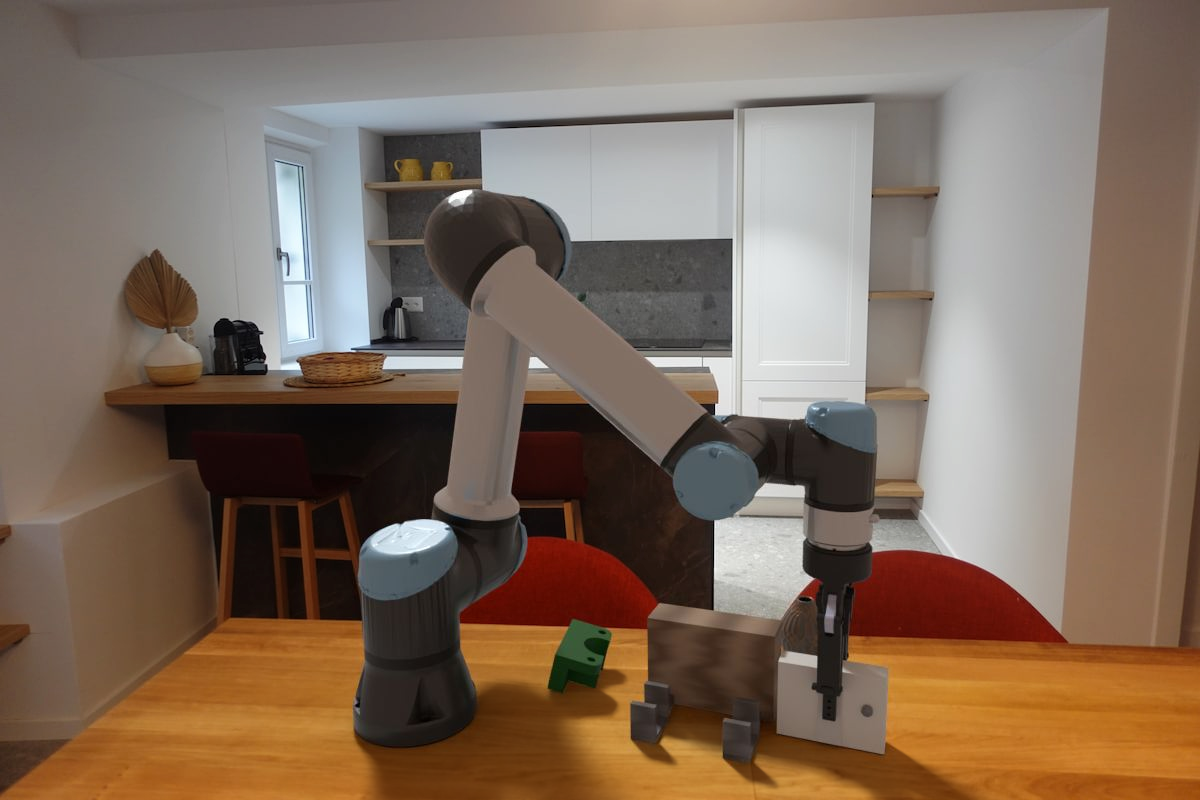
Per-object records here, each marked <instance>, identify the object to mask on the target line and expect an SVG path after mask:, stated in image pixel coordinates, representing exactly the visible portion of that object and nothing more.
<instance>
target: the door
mask: <svg viewBox="0 0 1200 800" xmlns="http://www.w3.org/2000/svg"><path fill="white" fill-rule="evenodd" d="M889 669H890V667H888V666H884V665H883V666H881V665H877V664H871V663H870V664H869V663H863V662H858V661H851V660H847V661H845V660H843V671H842V687H843V714H842V741H841V746H840V747H844V748H849V749H853V750H861V751H863V752H870V753H875V754H880V755H885V752H886V751H885V750H886V742H887V741H886V740H887V719H888V700H889V699H888V694H889V675H890V673H889V672H890V671H889ZM813 682H814V683H817V656H814V655H808V654H801V653H795V652H789V651H784V650H781V656H780V658H779V661H778V694H777V714H776V734H779V735H784V736H788V737H794V738H799V739H804V740H809V741H814V742H817V741H816V738H817V707H818V693H817V692H816V690H812V683H813Z"/></svg>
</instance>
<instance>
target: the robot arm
mask: <svg viewBox="0 0 1200 800" xmlns="http://www.w3.org/2000/svg"><path fill="white" fill-rule="evenodd" d="M423 235H424V237H423V246H424V252H425V257H426V258H427V263H428V265H429V267H430V269H431V270H432V272H433V274H434V275H435V277H436V278H437V280H438V282H440V283H441V285H442V286H443V287H444V288H445V289H446V290H447V291H448V292H449V293H451V295H453V296H454V297H455V299H456V300H457V301H459V303H461V304H462V305H463V306H465V308H466V309H467V311H468V319H467V327H466V333H465V334H466V335H465V342H464V349H463V357H462V366H461V374H460V380H459V391H458V395H457V396H458V397H457V403H456V404H457V405H456V413H455V422H454V430H453V436H452V446H451V452H450V461H449V469H448V475H447V484H446V486H444V487H443V488H441V489H440V490H439V491H437V492H436V493H435V495H434V497H433V506H432V510H431V512H432V513H431V519H425V518H424V519H423V518H422V519H412V520H406V521H404V522H403V523H401V524H400V523H393V524H391V525H388V526H386V527H384V528H382V529H379V530H378V531H376V532H374V533H373V534H372V535H370V536H369V537H368V538H367V539H366V540H365V541H364V543H363V544H362V546H361V547H360V551H359V556H358V571H357V572H358V573H357V583H358V586H359V598H360V599H359V600H360V614H361V626H362V639H363V640H362V641H363V651H364V652H363V655H364V657H363V658H364V661H363V665H362V670H361V674H360V678H359V679H358V680H359V681H358V684H357V688H356V693H355V697H354V699H353V704H352V714H353V715H352V718H353V728H354V730H355V731H356V733H357V734H358V735H359V736H360V737H361V738H362V739H364V740H366V741H368V742H371V743H373V744H376V745H380V746H387V747H393V748H394V747H396V748H397V747H401V748H403V747H404V748H405V747H415V746H416V747H417V746H423V745H427V744H432V743H436V742H438V741H441V740H444V739H446V738H449V737H451V736H453V735H454V734H457V733H458V732H460V731H461V730H463V729H464V728H465V727H467V726H468V725H469V724H470V723H471V722H472V721H473V719H474V718H475V717H476V714H477V711H478V693H477V687H476V684H475V682H474V680H473V679H472V676H471V672H470V670H469V666H468V665H467V662H466V659H465V657H464V654H463V651H462V647H461V626H460V625H461V624H460V623H461V622H460V614H461V612H463V611H464V610H465V609H468V607H469V606H471V605H473V604H474V603H475V602H478V601H479V600H480V599H482V598H483V597H485V596H487V595H488V594H490V593H491V592H493V591H494V590H496V589H498V588H499V587H501V586H503V585H504V584H506V582H507V581H509V579H510V578H511V577H512V576H513V575H514V574H515V573H516V572H517V571H518V570H519V568H520V567H521V565H522V563H523V561H524V559H525V557H526V553H527V548H528V535H527V530H526V526H525V525H524V524H523V523H522V522H521V516H520V515H519V514H520V503H519V502H518V500H517V499H516V497H515V496H514V495H513V494H512V487H513V486H512V484H513V479H514V472H515V465H516V459H517V451H518V444H519V438H520V430H521V423H522V417H523V409H524V402H525V396H526V388H527V382H528V376H529V375H528V374H529V366H530V359H531V355H532V354H533V355H534V356H535V357H536V358H537V359H538V360H540V362H542V363H543V364H544V365H545V366H547V368H548V369H549V370H551V371H552V372H553V374H555V375H556V376H558V377H559V379H561V381H563V382H564V383H566V384H567V385H568V386H569V387H570V389H572V390H573V391H575V393H577V394H578V395H579V397H581V398H582V399H583V400H585V402H587V403H588V404H589V405H590V406H591V407H592V408H594V410H596V411H597V412H598V414H600V415H601V416H602V417H603V418H604V419H605V420H607V421H609V423H611V424H612V425H613V426H614V427H615V428H616V429H617V430H618V431H619V432H620V433H622V434H623V436H624V437H625V436H626V438H627V439H628V440H630V441H631V443H633V444H634V445H635V446H636V447H637V448H638V449H639V450H641V451H642V452H643V453H644V454H645V455H647V456H648V457H649V458H650V459H651V460H652V461H653V462H654V463H656V465H658V466H659V467H660V468H661V469H662V470H664V471H665V472H666V473H667V475H669V476H670V477H671V478H672V485H673V490H674V493H675V496H676V497H677V499H678V502H679V504H680V505H681V507H683V508H684V510H686V511H687V512H688V513H690V514H691V515H692V516H695V517H697V518H698V519H702V520H705V521H706V520H707V521H721V520H725V519H727V518H729V517H732V516H734V515H735V514H736V513H737V512H740V510H742V509H743V508H745V507H747V506H748V505H749V504H750V503H751V502H752V501H753V499H755V496H756V494H757V493H758V491H759V490H760V489H762V487H763V486H764V485H765V484H772V485H773V484H774V485H782V486H783V485H785V486H791V487H792V486H794V487H795V486H802V487H804V498H803V509H802V510H803V514H802V515H803V517H802V534H803V536H804V537H805V539H803V542H802V562H801V563H802V564H801V565H802V570H803V571H804V573H805V574H806V575H808V576H809V577H811V578H812V579H815V580H818V581H820V582H819V584H818V590H816V592H815V593H816V594H815V603H816V606H817V608H818V612H817V618H816V621H817V629H818V645H817V683H814V682H813V683H812V690H816V692H817V693H818V707H817V738H816V741H815V742H818V743H824V744H829V745H833V746H839V747H842V746H841V741H842V714H843V687H842V671H843V660H845V661H848V659H849V658H850V654H849V638H850V635H849V634H850V623H851V622H852V619H853V618H852V617H853V606H854V605H853V604H854V601H855V596H856V587H854V586H853V584H857V583H862V582H864V581H866V580H868V579H869V578H870V577H871V575H872V569H873V546H872V544H871V543H870V542H871V541H872V540H873V535H874V534H873V533H874V524H878V523H880V519H881V518H880V516H879V515H878V514H876V513H875V514H873V512H874V509H875V508H874V507H875V506H874V505H875V495H876V494H875V493H876V480H877V479H876V477H877V459H878V448H879V447H878V432H877V429H878V425H877V422H878V420H877V414H876V412H875V411H874V409H873V408H872V407H870V406H869V405H866V404H865V403H859V402H853V401H843V400H842V401H841V400H840V401H839V400H838V401H837V400H836V401H825V400H824V401H817V402H813V403H811V404H809V406H807V409H806V415H805V416H804V418H799V419H796V418H794V419H791V418H775V417H760V416H748V415H747V416H746V415H739V414H737V413H735V414H734V413H732V414H728V415H721V414H719V415H718V414H715V415H712V414H711V413H709V412H708V410H707V409H705V407H704V406H702V405H701V404H699V402H698V401H696V400H695V399H694V398H693V397H692V396H691V395H689V394H688V393H687V392H686V391H685V390H683V389H682V388H681V387H680V386H679V385H678V384H677V383H676V382H674V381H673V380H672V379H670V378H669V377H668V376H667V375H666V374H665V373H664V372H663V371H661V370H660V369H659V368H658V367H657V366H656V365H654V364H653V363H652V362H651V361H650V360H648V359H647V358H646V357H645V356H643V354H641V353H640V352H639V351H638V350H637V349H636V348H634V347H633V346H632V345H631V344H630V343H628V341H626V340H625V339H624V338H623V337H622V336H620V335H619V334H618V333H617V332H616V331H615V330H614V329H612V328H611V327H610V326H609V325H608V324H607V323H605V322H604V321H603V320H602V319H600V317H599V316H597V315H596V314H595V313H594V312H593V311H591V310H590V309H589V308H588V307H586V306H585V305H584V304H583V303H582V302H581V301H579V300H578V299H577V298H576V297H575V296H574V295H573V294H572V293H570V291H568V290H567V289H566V288H564V287H563V286H562V285H561V284H559V283H558V282H559V281H560V279H562V278H563V276H564V275H565V274H566V272H567V271H568V269H569V266H570V263H571V259H572V251H573V250H572V240H571V234H570V232H569V230H568V227H567V225H566V224H565V222H564V221H563V219H562V217H561V216H560V215H559V213H557V212H556V211H555V210H554V209H553V208H552V207H550V206H548V205H547V204H545V203H543V202H540V201H538V200H536V199H533V198H529V197H526V196H523V195H520V196H519V195H511V194H506V193H500V192H494V191H493V192H492V191H490V190H483V189H475V188H474V189H466V190H465V189H464V190H461V191H457V192H455V193H453V194H452V193H451V195H449V196H447V197H446V198H444V199H443V200H442V201H440V203H439V204H437V206H436V207H435V208H434V210H433V211H432V212H431V214H430V216H429V217H428V219H427V223H426V226H425V230H424V234H423Z"/></svg>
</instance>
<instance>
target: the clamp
mask: <svg viewBox="0 0 1200 800" xmlns="http://www.w3.org/2000/svg"><path fill="white" fill-rule="evenodd" d="M612 636H613V633H612V632H611V630H610V629H608V628H605V627H602V626H598V625H595V624H591V623H589V622H585V621H581V620H578V619H574V618H572V619H571V622H570V624H569V625H568V628H567V630H566V632H565V634H564V636H563V637H562V640H561V642H560V644H559V646H558V647H557V650H556V652H555V653H554V658H553V662H552V667H551V670H550V675H549V678H548V683H547V689H548V690H551V691H553V692H557V693H559V694H564V692H565V689H566V687H567V685H568V683H569V682H571V683H575V684H578V685H581V686H585V687H587V688H589V689H597V686H598V682H599V679H600V674H601V671H603V669H604V666H605V663H606V658H607V654H608V650H609V646H610V644H611V640H612Z"/></svg>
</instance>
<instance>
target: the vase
mask: <svg viewBox="0 0 1200 800" xmlns="http://www.w3.org/2000/svg"><path fill="white" fill-rule="evenodd" d="M817 612H818V608H817V606H816V600H815V599H814V598H813V597H811V596H807V595H800V596H797V597H796V599H795V601H794V602H793V603H792V605H791V606H790V607H789V608H788V609H787V610H786V611H785V613H784V615H783V617H782V618H781V620H782V641H781V649H782V651H789V652H795V653H801V654H808V655H814V656H817V645H818V629H817V621H816V618H817Z"/></svg>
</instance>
